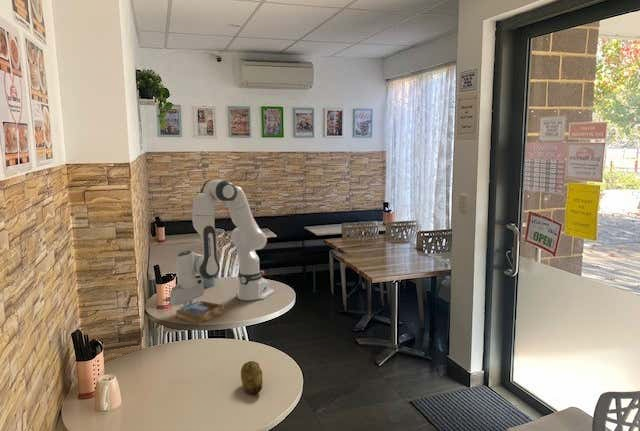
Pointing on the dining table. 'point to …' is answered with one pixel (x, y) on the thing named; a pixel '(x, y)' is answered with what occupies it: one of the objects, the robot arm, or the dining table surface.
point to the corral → (214, 311)
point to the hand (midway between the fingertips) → (187, 309)
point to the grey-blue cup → (207, 281)
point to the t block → (195, 308)
